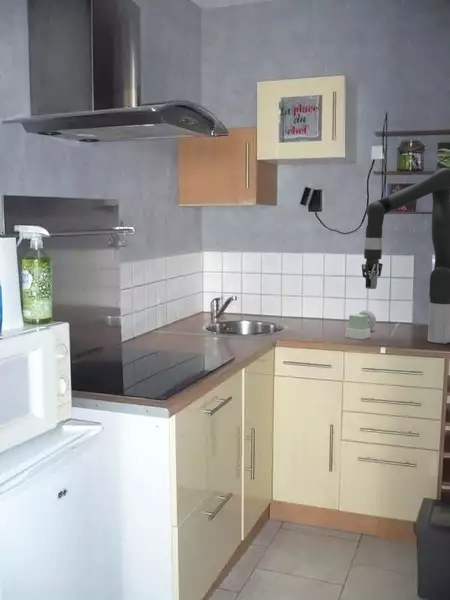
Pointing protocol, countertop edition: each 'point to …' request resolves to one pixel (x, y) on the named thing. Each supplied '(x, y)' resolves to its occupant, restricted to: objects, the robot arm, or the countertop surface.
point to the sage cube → (358, 321)
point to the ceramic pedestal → (357, 333)
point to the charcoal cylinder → (373, 282)
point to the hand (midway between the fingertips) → (371, 286)
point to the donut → (371, 318)
